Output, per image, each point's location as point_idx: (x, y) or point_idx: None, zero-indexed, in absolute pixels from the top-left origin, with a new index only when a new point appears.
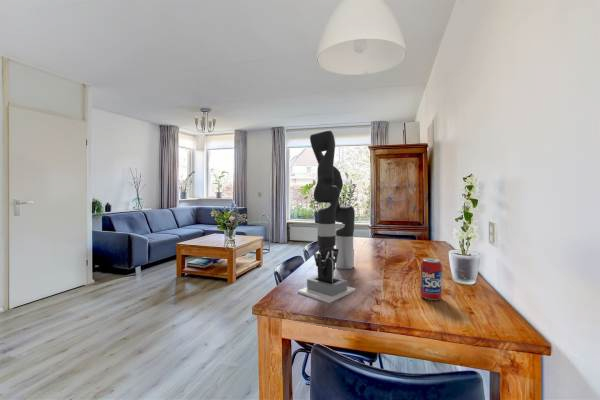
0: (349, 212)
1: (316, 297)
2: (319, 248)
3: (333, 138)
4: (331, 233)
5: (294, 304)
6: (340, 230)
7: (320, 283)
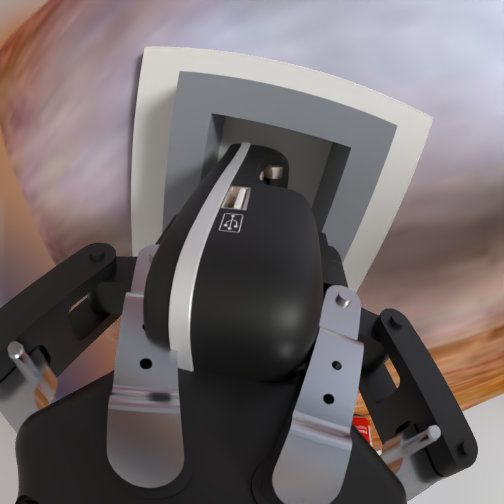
0: None
1: (133, 186)
2: (19, 482)
3: None
4: None
5: (45, 140)
6: None
7: (165, 207)
